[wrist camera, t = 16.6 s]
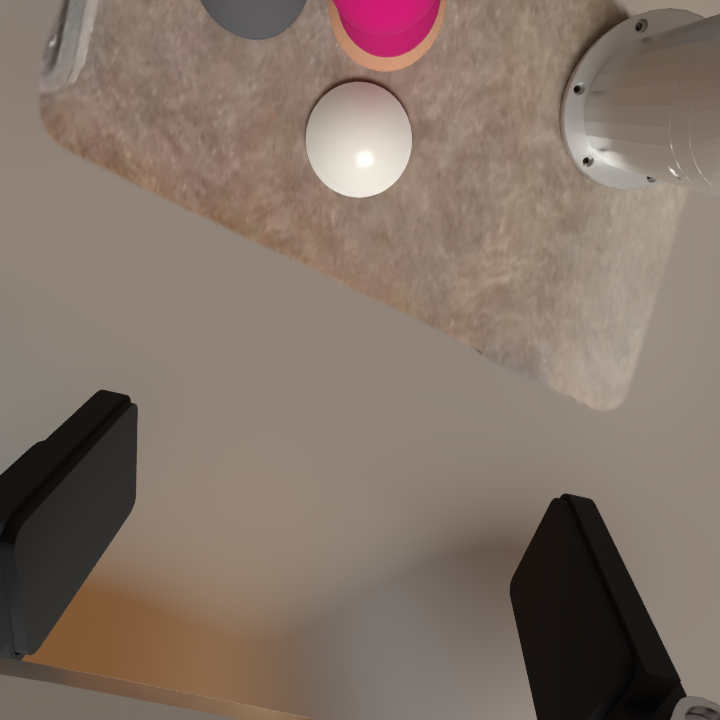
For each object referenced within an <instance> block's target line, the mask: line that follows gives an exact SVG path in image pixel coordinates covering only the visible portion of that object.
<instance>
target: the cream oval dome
mask: <svg viewBox="0 0 720 720" xmlns="http://www.w3.org/2000/svg"><path fill="white" fill-rule="evenodd" d="M411 147H412V132H411V127H410V123H409V120H408V117H407V115H406V112H405V110H404V109H403V107H402V105H401V104H400V103H399V101H398V100H397V99H396V98H395V97H394V96H393V95H392V94H391V93H390V92H388V91H387V90H385V89H384V88H382V87H380V86H378V85H375V84H372V83H367V82H350V83H346V84H342V85H340V86H338V87H335V88H334V89H332V90H331V91H329V92H328V93H327V94H325V95H324V96H323V97H322V98H321V99H320V101H319V102H318V103H317V105H316V106H315V107H314V109H313V111H312V113H311V115H310V118H309V121H308V125H307V130H306V148H307V154H308V157H309V160H310V163H311V165H312V167H313V169H314V171H315V173H316V174H317V175H318V177H319V178H320V179H321V180H322V181H323V182H324V183H325V184H326V185H327V186H328V187H329V188H331V189H332V190H334V191H336V192H338V193H340V194H343V195H346V196H350V197H368V196H372V195H375V194H378V193H380V192H382V191H384V190H386V189H387V188H389V187H390V186H391V185H392V184H393V183H394V182H396V181H397V179H398V178H399V177H400V176H401V174H402V173H403V171H404V169H405V167H406V165H407V163H408V160H409V157H410V153H411Z"/></svg>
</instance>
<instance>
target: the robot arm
mask: <svg viewBox="0 0 720 720" xmlns="http://www.w3.org/2000/svg"><path fill="white" fill-rule="evenodd" d="M636 24H639V25H640V29H639V30H638V31H636V29H635V26H636ZM576 85H577V86H578V87H579V91H578V92H577V93H575V92H574V87H575V86H576ZM560 126H561V133H562V140H563V143H564V146H565V148H566V151H567V154H568V155H569V157H570V159H571V160H572V162H573V163H574V165H575V166H576V167H577V168H578V169H579V170H580V171H581V172H582V173H583V174H584V175H585V176H587V177H588V178H590V179H591V180H593V181H595V182H597V183H599V184H602V185H604V186H607V187H611V188H615V189H623V190H636V189H643V188H649V187H652V186H655V185H658V184H661V183H664V182H669V183H673V184H676V185H680V186H684V187H687V188H691V189H695V190H698V191H702V192H705V193H709V194H712V195H716V196H720V14H719V15H716V16H712V17H709V18H706V19H705V18H704V17H702V16H700V15H697V14H695V13H692V12H689V11H686V10H679V9H671V8H670V9H661V10H652V11H649V12H645V13H642V14H639V15H636V16H633V17H631V18H629V19H626V20H624V21H622V22H621V23H619V24H618V25H616V26H614V27H613V28H611V29H610V30H608V31H607V32H606V33H604V34H603V35H602V36H601V37H600V38H599V39H598V40H596V41H595V42H594V43H593V44H592V45H591V47H590V48H589V49H588V50H587V51H586V53H585V54H584V55H583V56H582V58H581V59H580V61H579V62H578V64H577V66H576V67H575V69H574V71H573V72H572V74H571V76H570V79H569V81H568V84H567V86H566V89H565V92H564V96H563V101H562V105H561V118H560ZM585 157H587V159H588V161H587V162H586V163H583V159H584V158H585ZM647 176H648V177H650V178H648V179H647ZM137 414H138V410H137V405H136V404H134V403H131V399H130V397H129V396H128V395H124V394H120V393H115V392H111V391H107V390H99V391H98V392H97V393H95V394H94V395H93V396H92V397H91V398H90V399H89V400H88V401H87V402H86V403H85V404H84V405H83V406H81V408H79V409H78V410H77V411H76V412H75V413H74V414H73V415H72V416H71V417H70V418H69V419H68V420H66V421H65V422H64V423H63V424H62V425H61V426H60V427H59V428H58V429H57V430H56V431H54V432H53V433H52V434H51V435H50V436H49V437H48V438H47V439H46V440H44V441H40V442H38V443H36V444H35V445H33V446H32V447H31V448H30V449H29V450H28V451H26V452H25V453H24V454H23V455H22V456H21V457H20V458H19V459H18V460H17V461H16V462H14V463H13V464H12V465H11V466H10V467H9V468H8V469H7V470H6V471H5V472H4V473H2V474H1V475H0V720H318V719H313V718H308V717H303V716H298V715H293V714H288V713H284V712H279V711H274V710H269V709H264V708H260V707H255V706H250V705H245V704H240V703H236V702H231V701H226V700H221V699H216V698H211V697H206V696H201V695H196V694H191V693H186V692H181V691H176V690H171V689H166V688H161V687H156V686H151V685H146V684H141V683H137V682H132V681H127V680H122V679H117V678H112V677H107V676H102V675H97V674H91V673H85V672H80V671H75V670H69V669H64V668H58V667H53V666H48V665H42V664H36V663H31V662H25V661H21V660H22V658H23V657H24V655H25V654H27V655H32V654H34V653H35V652H36V651H37V650H38V649H39V648H40V646H41V645H42V643H43V642H44V640H45V639H46V638H47V636H48V634H49V633H50V631H51V630H52V629H53V627H54V626H55V624H56V623H57V621H58V620H59V618H60V617H61V615H62V614H63V612H64V610H65V609H66V608H67V606H68V605H69V603H70V602H71V600H72V599H73V597H74V596H75V594H76V593H77V591H78V590H79V589H80V587H81V586H82V584H83V583H84V581H85V580H86V578H87V577H88V575H89V573H90V572H91V571H92V569H93V568H94V566H95V565H96V563H97V562H98V560H99V559H100V557H101V556H102V554H103V553H104V551H105V550H106V548H107V547H108V545H109V544H110V542H111V541H112V540H113V538H114V537H115V535H116V534H117V532H118V531H119V529H120V528H121V526H122V525H123V523H124V522H125V520H126V519H127V517H128V516H129V514H130V513H131V511H132V508H133V506H134V503H135V499H136V463H137V416H138V415H137ZM510 598H511V602H512V606H513V611H514V616H515V620H516V625H517V629H518V634H519V638H520V642H521V647H522V652H523V657H524V661H525V665H526V670H527V675H528V679H529V684H530V688H531V692H532V697H533V702H534V706H535V711H536V716H537V720H720V706H719V705H718V704H716V703H714V702H712V701H709V700H707V699H704V698H701V697H694V696H688V697H687V695H686V693H685V691H684V689H683V687H682V685H681V683H680V681H681V680H680V678H679V676H678V674H677V672H676V669H675V668H674V665H673V663H672V662H671V659H670V657H669V655H668V653H667V651H666V649H665V647H664V645H663V643H662V641H661V639H660V637H659V634H658V632H657V630H656V628H655V626H654V624H653V622H652V620H651V618H650V616H649V614H648V612H647V610H646V608H645V606H644V604H643V601H642V599H641V597H640V595H639V593H638V591H637V589H636V587H635V585H634V583H633V581H632V579H631V577H630V575H629V573H628V571H627V569H626V566H625V565H624V562H623V560H622V558H621V556H620V554H619V553H618V550H617V548H616V546H615V544H614V542H613V540H612V538H611V536H610V534H609V532H608V529H607V527H606V525H605V524H604V521H603V519H602V517H601V515H600V513H599V511H598V509H597V507H596V505H595V503H594V502H593V500H591V499H589V498H584V497H579V496H575V495H571V494H563V495H562V496H561V497H560V498H554V499H553V500H552V501H551V503H550V505H549V507H548V509H547V511H546V513H545V515H544V517H543V519H542V521H541V523H540V524H539V526H538V528H537V530H536V533H535V534H534V536H533V538H532V540H531V542H530V544H529V546H528V548H527V550H526V552H525V554H524V556H523V558H522V560H521V562H520V564H519V566H518V568H517V570H516V572H515V574H514V576H513V578H512V580H511V584H510Z"/></svg>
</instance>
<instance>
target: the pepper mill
mask: <svg viewBox="0 0 720 720" xmlns="http://www.w3.org/2000/svg"><path fill="white" fill-rule="evenodd" d="M332 1H333V3H334V4H335V6H336V8H337V9H338V13H339V17H340V21H341V23H342V25H343V28H344V30H345V31H346V33H347V35H348V36H349V37H350V39H351V40H352V41H353V42H354V43H355V45H357V46H358V47H359V48H361V49H362V50H363V51H365V52H367V53H369V54H371V55H374V56H378V57H385V58H387V57H396V56H400V55H403V54H405V53H407V52H409V51H411V50H412V49H414V48H415V47H417V46H418V45H419V44H420V43H421V42H422V41H423V40H424V39H425V37H426V36H427V35H428V34H429V32H430V30H431V29H432V27H433V25H434V23H435V20H436V18H437V15H438V11H439V7H440V2H441V0H332Z"/></svg>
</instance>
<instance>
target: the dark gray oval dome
mask: <svg viewBox="0 0 720 720" xmlns="http://www.w3.org/2000/svg"><path fill="white" fill-rule="evenodd" d="M201 2H202V4H203V6H204V7H205V9H206V10H207V12H208V13H209V14H210V15H211V17H212V18H213V19H214V20H215V21H216V22H217V23H218V24H219V25H221V26H222V27H223V28H224V29H226V30H227V31H229V32H231V33H233V34H235V35H237V36H240V37H243V38H247V39H254V40H259V39H267V38H271V37H273V36H276V35H278V34H280V33H282V32H283V31H285V30H286V29H287V28H288V27H290V25H291V24H292V23H293V22H294V21H295V20H296V19H297V17H298V16H299V14H300V13H301V11H302V9H303V7H304V4H305V2H306V0H201Z"/></svg>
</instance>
